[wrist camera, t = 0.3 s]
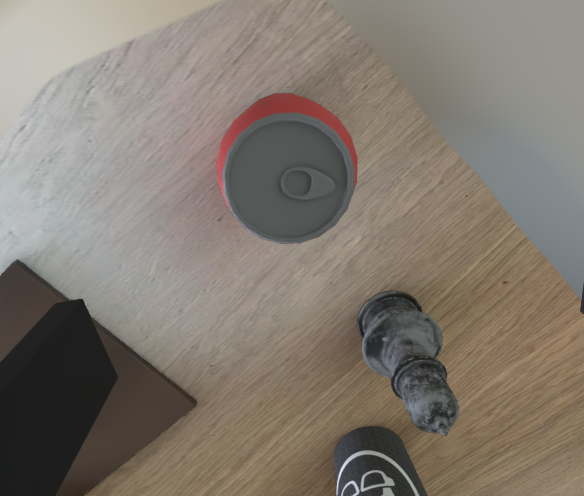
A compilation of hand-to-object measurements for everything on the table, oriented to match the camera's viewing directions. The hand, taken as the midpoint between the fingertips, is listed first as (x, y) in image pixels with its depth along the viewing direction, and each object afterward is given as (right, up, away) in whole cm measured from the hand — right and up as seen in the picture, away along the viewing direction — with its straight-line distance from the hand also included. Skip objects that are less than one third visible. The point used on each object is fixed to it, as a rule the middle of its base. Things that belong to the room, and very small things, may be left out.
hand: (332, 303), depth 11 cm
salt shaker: (+7, -4, +23) cm, 24 cm away
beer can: (-2, +9, +18) cm, 20 cm away
